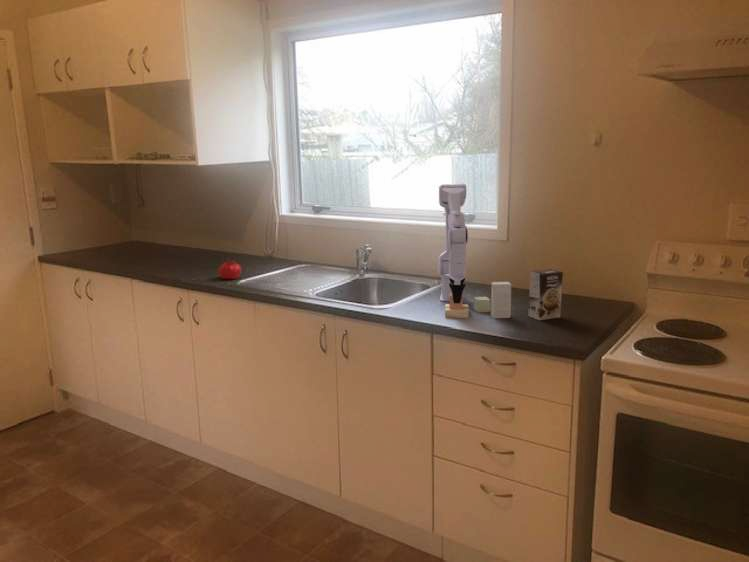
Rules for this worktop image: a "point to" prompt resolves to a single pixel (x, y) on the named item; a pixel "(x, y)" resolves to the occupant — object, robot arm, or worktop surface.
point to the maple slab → (456, 312)
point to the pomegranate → (230, 270)
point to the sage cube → (481, 304)
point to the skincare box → (501, 300)
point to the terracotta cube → (455, 305)
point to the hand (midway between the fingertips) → (456, 300)
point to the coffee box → (545, 294)
